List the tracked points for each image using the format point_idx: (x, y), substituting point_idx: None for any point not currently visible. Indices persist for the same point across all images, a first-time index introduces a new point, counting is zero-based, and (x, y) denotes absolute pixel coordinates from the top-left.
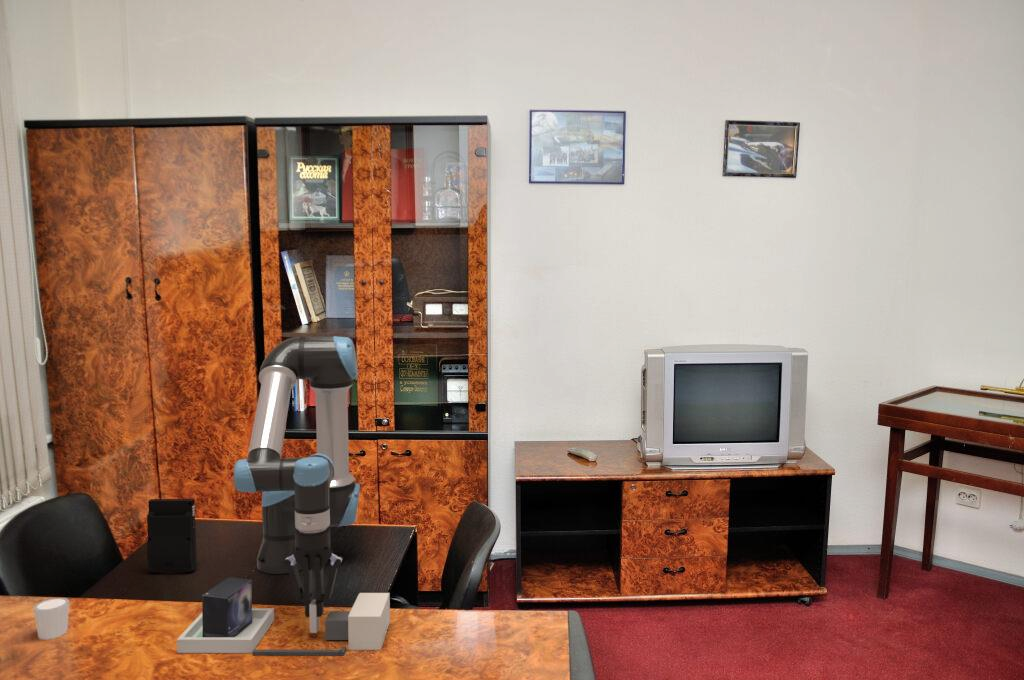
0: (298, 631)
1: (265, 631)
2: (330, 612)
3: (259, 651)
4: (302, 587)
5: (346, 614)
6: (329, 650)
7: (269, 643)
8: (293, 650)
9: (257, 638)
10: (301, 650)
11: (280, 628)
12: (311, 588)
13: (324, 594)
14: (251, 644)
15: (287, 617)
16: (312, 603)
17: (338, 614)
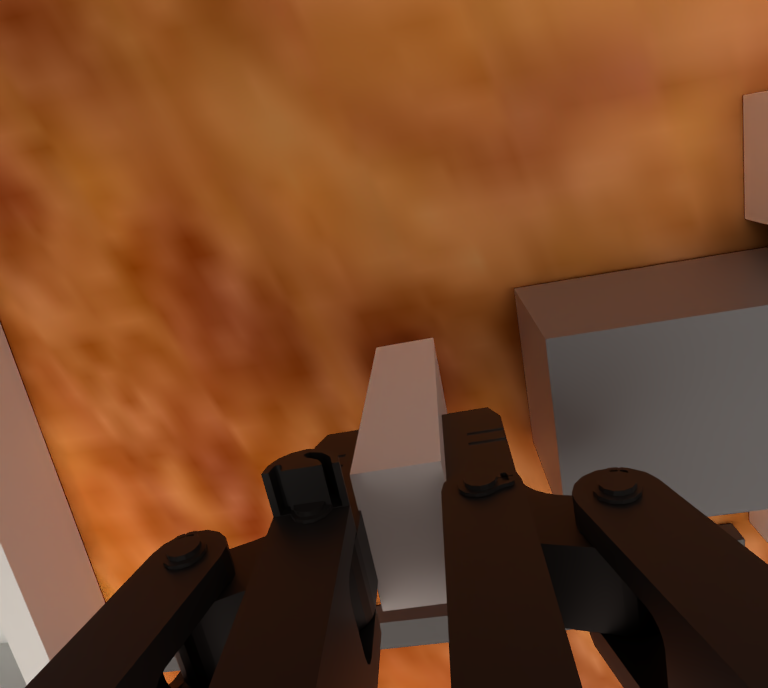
0: (252, 324)
1: (18, 399)
2: (563, 367)
3: (169, 666)
4: (159, 632)
5: (764, 380)
6: None
7: (148, 515)
8: (381, 631)
9: (59, 571)
10: (436, 625)
11: (85, 302)
12: (341, 646)
13: (573, 580)
14: None
15: (15, 97)
16: (408, 577)
17: (669, 393)
